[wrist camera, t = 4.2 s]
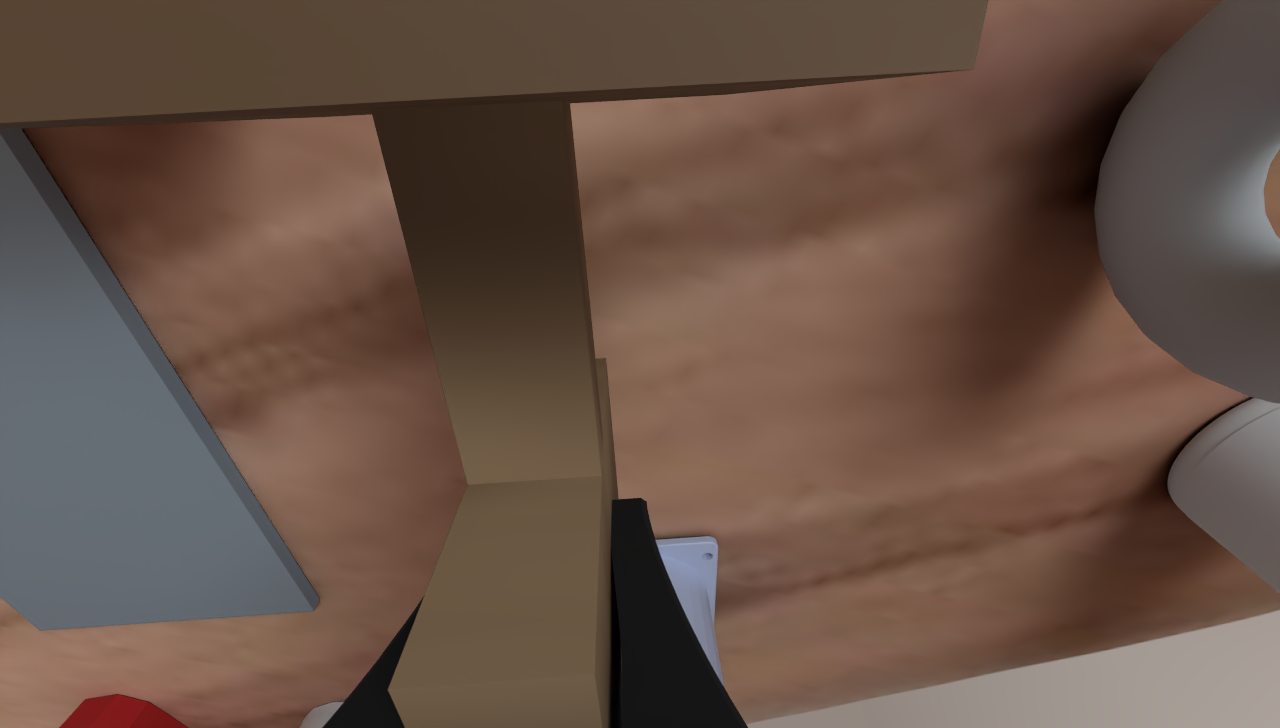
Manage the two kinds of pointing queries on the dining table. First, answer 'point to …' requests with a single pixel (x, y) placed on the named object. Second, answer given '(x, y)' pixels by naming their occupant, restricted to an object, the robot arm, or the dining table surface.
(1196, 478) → the pill bottle
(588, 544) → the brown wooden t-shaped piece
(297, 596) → the mat
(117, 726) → the french fries
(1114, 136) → the donut
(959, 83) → the dining table surface
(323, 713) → the foam cup
